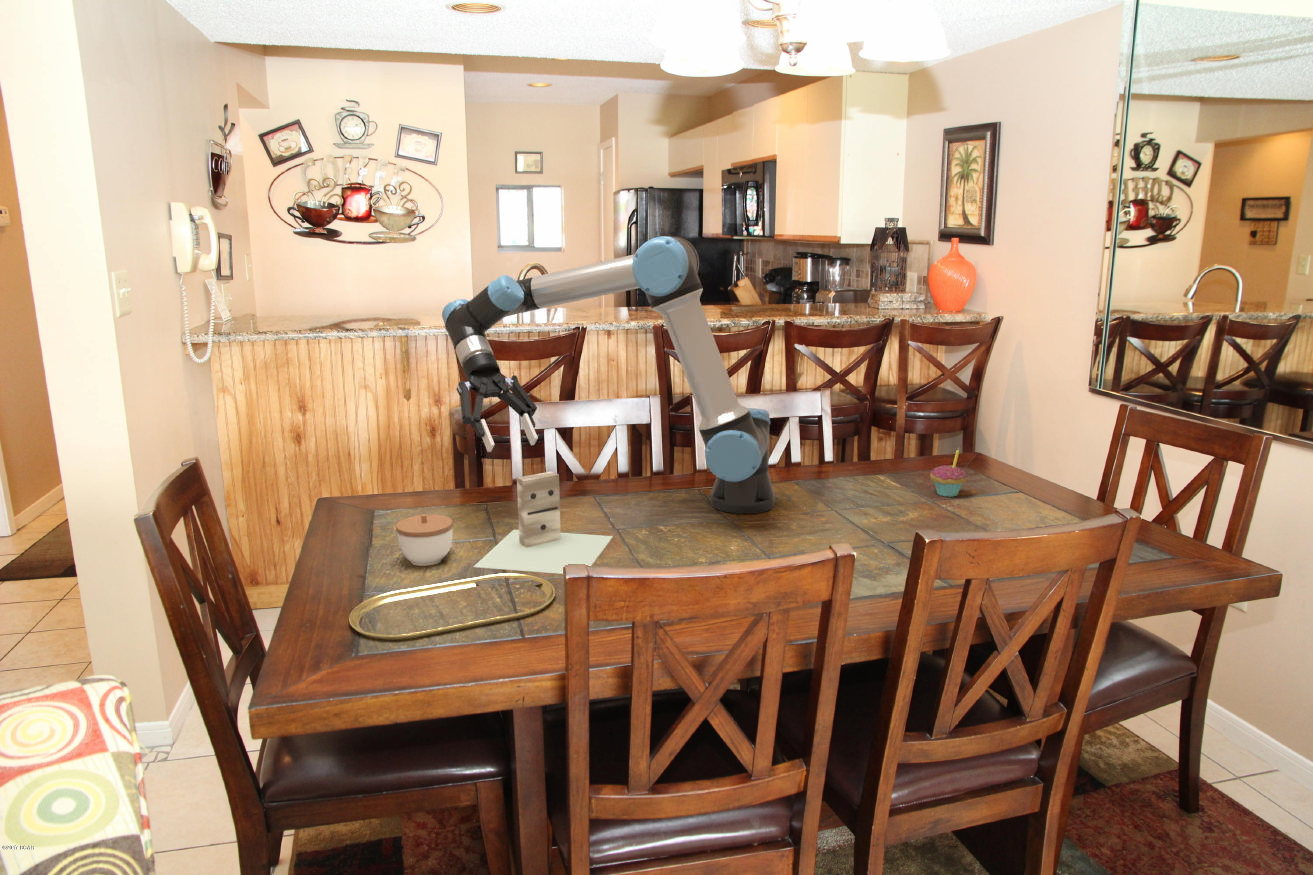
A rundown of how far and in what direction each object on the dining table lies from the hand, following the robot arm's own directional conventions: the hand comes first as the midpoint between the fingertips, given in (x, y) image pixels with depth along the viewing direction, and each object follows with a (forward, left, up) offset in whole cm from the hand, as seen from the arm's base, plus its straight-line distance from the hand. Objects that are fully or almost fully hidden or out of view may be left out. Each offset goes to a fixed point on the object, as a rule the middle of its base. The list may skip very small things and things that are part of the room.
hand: (513, 444), depth 189 cm
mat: (-11, +12, -19) cm, 25 cm away
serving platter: (-4, +40, -20) cm, 45 cm away
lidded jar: (+11, +20, -19) cm, 30 cm away
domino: (-8, +7, -18) cm, 21 cm away
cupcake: (-94, -46, -19) cm, 106 cm away
